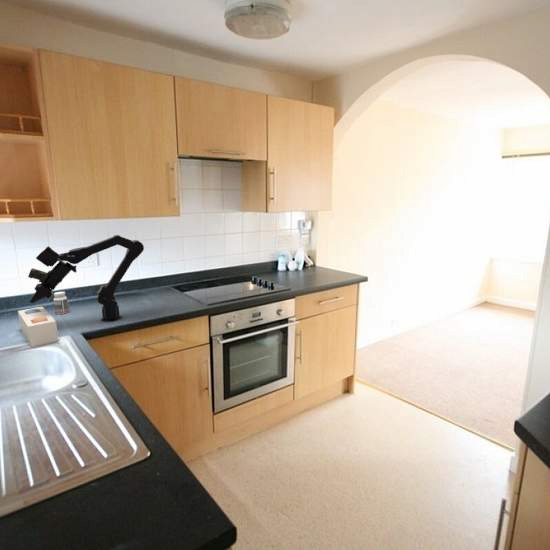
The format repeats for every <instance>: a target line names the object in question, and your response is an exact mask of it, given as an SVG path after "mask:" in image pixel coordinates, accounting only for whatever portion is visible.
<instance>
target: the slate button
mask: <svg viewBox="0 0 550 550" xmlns="http://www.w3.org/2000/svg"><path fill="white" fill-rule="evenodd" d="M30 309H31V310H27V311H26V313H27V314H31V313H37V312H39V309H32V308H30Z"/></svg>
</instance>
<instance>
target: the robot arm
mask: <svg viewBox="0 0 550 550" xmlns="http://www.w3.org/2000/svg"><path fill="white" fill-rule="evenodd" d="M116 246H120V247H123V248H125V249H126V252H125V254H124V257H123V258H122V260H121V262H120V263H119V265H118V267H117V268H116V269H115V271H114V273H113V274H112V275H111V277H110V279H109V280H108V282H107V283H105V284H103V283H102V284H101V285H100V288H99V289H98V290H97V291H96V293H97V294H96V297H97V302H98V303H99V304H100V305H102V306H101V313H102V314H101V315H102V318H101V321H104V322H105V321H107V322H115V321H117V320H118V319H121V318H122V317H123V315H120V307H119V304H118V300H117V298H116V297H114V296H115V292H116V290H117V287H118V285H119V283H120V282H121V281H122V279H123V278H124V276H125V274H126V273H127V271H128V270H129V268H130V267H131V265H132V264H133V262H134V261H135V260H136V259H137V258H139V257H140V255H141V254H142V253H143V252H144V249H145V246H144V244H143V243H142V242H141V241H140V240H137V239H134V240H132V239H129V238H126V237H124V236H120V234H115V235H113V236H111V237H109V238H106V239H104V240H100V241H97V242H95V243H92V244H90V245H87V246H82V247H77V248H72V249H69V250H68V251H67V252H64V253H63V252H62V253H58V252H57V251H55V250H53V249H52V247H50V246H46V247H45V249H43V250H42V251H41V252H40V253H39V254H38V255H37V256H36V257H35V259H36V260H37V261H38V262H40V263H41V264H43V265H44V266H46V267H48V268H49V267H53V268H52V269H51V270H48V271H47V272H46V271H43V270H40V269H36V268H31V269H30V271H29V273H28V276H27V277H28V278H30V279H34V280H38V282H39V283H37V284H36V285H35V287H34V290H35V293H34V295H32V297H31V299H30V300H29V303H31V304H34V303H36V302H39V301H41V300H42V299H45V298H47V299H50V297H51V296H52V295H53V294H54V292H53V291H54V290H55V289H56V288H57V286H58V285H59V284H60V283H62V282H63V280H64V278H66V277H67V276H68V274H70V273H71V271H72V272H73V273H77V264H80V263H81V262H82V261H84V260H86V259H87V258H89V257H91V256H92V255H95V254H97V253H100V252H102V251H104V250H108V249H110V248H112V247H116ZM57 262H58V263H57Z"/></svg>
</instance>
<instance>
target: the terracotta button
mask: <svg viewBox="0 0 550 550" xmlns="http://www.w3.org/2000/svg"><path fill="white" fill-rule="evenodd" d="M43 321H46V318H45V317H39V318H35V319H33V323H38V322H43Z"/></svg>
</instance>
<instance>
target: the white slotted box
mask: <svg viewBox="0 0 550 550" xmlns="http://www.w3.org/2000/svg"><path fill="white" fill-rule="evenodd" d="M31 309H39V312H37V313H31V314H27V313H26V311H27V310H31ZM17 313H18V320H19V325H20V330H21V332H22V333H23V335H24V337H25V339H26V340H27V342H28V344H29V346H30V347H31V348H34V347H37V346H41V345H47V344H50V343H51V344H52V343H56V342H59V335H58V329H57V321H56V320H55V318H54V317H53V316H52V315H50V313H49V312H48V310H47V309H45V307H43V306H39V307H33V308H27V309H22V310H17ZM39 317H45V318H46V321H43V322H38V323H33V319H35V318H39Z"/></svg>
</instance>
